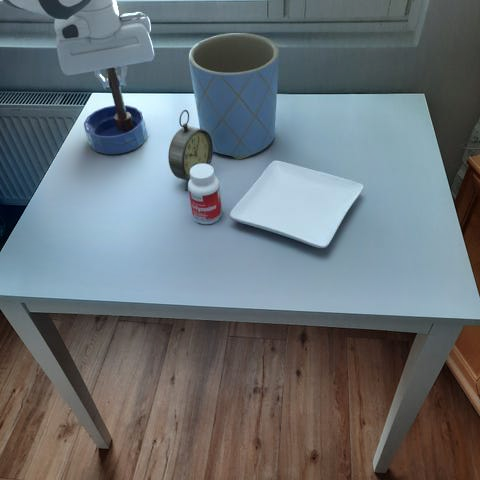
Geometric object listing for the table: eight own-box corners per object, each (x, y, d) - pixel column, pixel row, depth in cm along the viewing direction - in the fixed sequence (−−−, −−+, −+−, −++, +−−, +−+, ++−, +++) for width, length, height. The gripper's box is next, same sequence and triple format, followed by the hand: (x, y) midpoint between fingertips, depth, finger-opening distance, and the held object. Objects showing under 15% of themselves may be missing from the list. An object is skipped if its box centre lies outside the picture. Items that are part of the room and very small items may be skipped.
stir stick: (118, 133, 113) (96, 53, 99) (116, 124, 116) (94, 45, 101) (134, 130, 114) (115, 50, 99) (132, 121, 116) (113, 42, 102)
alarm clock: (189, 196, 102) (178, 127, 89) (169, 189, 104) (155, 120, 91) (216, 169, 108) (210, 100, 95) (197, 163, 110) (188, 94, 97)
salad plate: (273, 170, 107) (273, 157, 104) (363, 196, 100) (365, 182, 97) (227, 227, 96) (226, 214, 93) (325, 260, 89) (326, 247, 86)
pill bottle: (190, 225, 97) (183, 180, 88) (194, 205, 100) (188, 160, 92) (220, 225, 96) (215, 180, 87) (223, 206, 100) (219, 161, 91)
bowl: (93, 161, 112) (86, 142, 108) (87, 130, 120) (81, 111, 116) (152, 149, 114) (147, 130, 110) (142, 119, 122) (138, 100, 118)
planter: (183, 142, 115) (169, 56, 99) (235, 109, 123) (231, 25, 107) (240, 172, 107) (236, 83, 91) (293, 134, 115) (297, 47, 99)
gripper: (145, 4, 99) (157, 71, 110) (46, 20, 96) (69, 87, 107) (150, 16, 95) (162, 84, 106) (48, 33, 92) (71, 101, 103)
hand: (114, 86), depth 107 cm, fingers closed on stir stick, 2 cm apart
